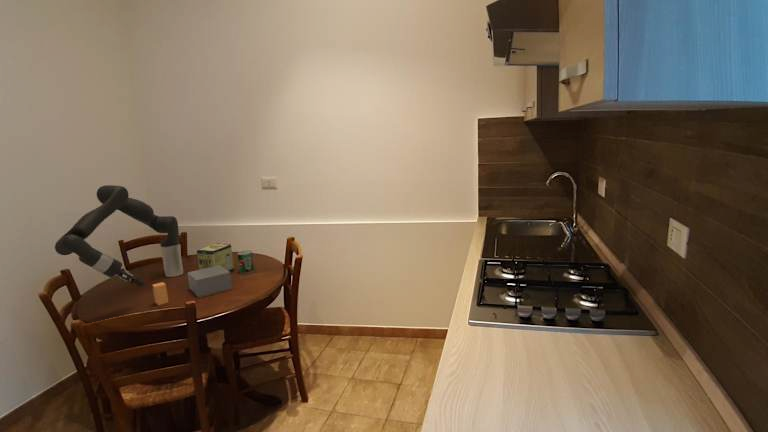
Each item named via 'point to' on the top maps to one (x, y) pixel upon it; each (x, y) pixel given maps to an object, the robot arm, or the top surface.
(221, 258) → the protein box
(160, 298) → the orange block
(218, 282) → the storage box
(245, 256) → the canned tomato
